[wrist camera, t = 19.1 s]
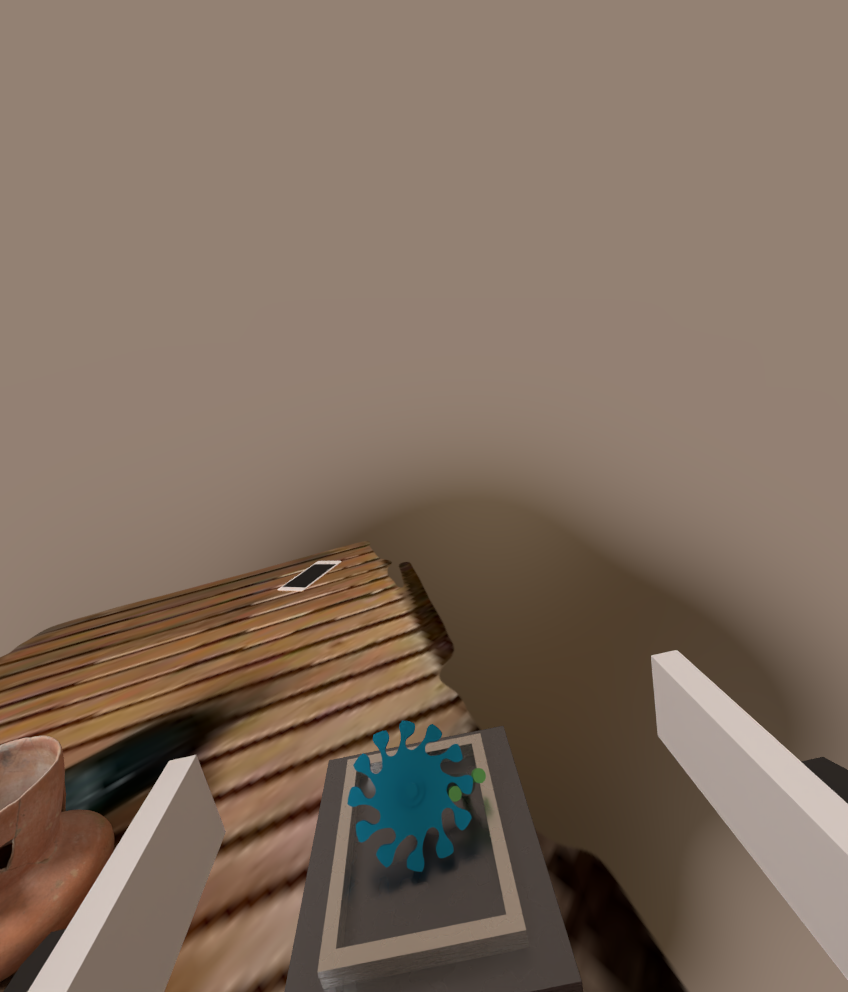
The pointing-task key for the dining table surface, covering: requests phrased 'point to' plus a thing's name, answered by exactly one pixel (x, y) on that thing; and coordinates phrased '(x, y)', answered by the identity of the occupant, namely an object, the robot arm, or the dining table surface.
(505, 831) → the grey open tray
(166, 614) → the dining table surface
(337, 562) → the cell phone
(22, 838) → the ceramic jug
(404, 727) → the gear
